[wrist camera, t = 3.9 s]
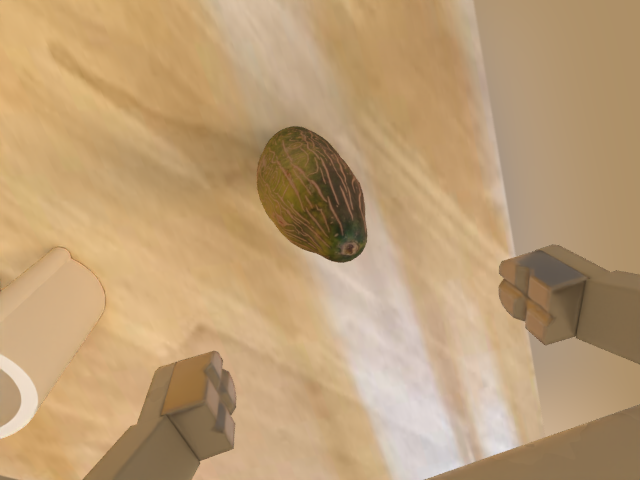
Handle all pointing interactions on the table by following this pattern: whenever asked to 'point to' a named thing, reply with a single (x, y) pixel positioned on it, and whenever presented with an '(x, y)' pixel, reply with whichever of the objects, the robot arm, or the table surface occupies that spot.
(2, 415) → the bracket
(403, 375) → the table surface
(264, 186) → the vegetable
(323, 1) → the table surface
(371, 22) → the table surface
